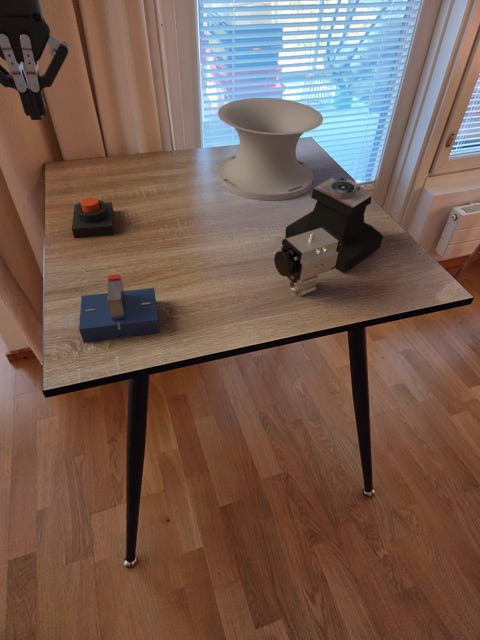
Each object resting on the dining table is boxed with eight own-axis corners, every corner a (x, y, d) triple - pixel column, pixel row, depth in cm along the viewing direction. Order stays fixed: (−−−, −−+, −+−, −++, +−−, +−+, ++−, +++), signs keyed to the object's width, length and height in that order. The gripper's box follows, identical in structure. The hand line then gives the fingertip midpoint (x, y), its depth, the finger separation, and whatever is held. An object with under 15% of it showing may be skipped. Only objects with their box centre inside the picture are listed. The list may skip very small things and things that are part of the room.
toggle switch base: (83, 347, 65) (78, 333, 63) (85, 304, 72) (81, 290, 70) (160, 337, 67) (158, 323, 65) (155, 296, 74) (153, 282, 72)
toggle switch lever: (125, 319, 66) (120, 297, 63) (112, 320, 65) (107, 299, 62) (124, 294, 70) (120, 273, 67) (112, 295, 70) (107, 274, 66)
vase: (325, 171, 114) (337, 110, 103) (289, 210, 98) (299, 143, 87) (245, 150, 122) (247, 91, 111) (199, 183, 106) (197, 119, 95)
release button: (82, 213, 87) (80, 206, 85) (82, 205, 89) (80, 197, 88) (99, 212, 87) (98, 204, 86) (100, 204, 90) (98, 196, 88)
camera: (288, 181, 80) (338, 154, 86) (285, 242, 90) (329, 214, 97) (356, 214, 71) (405, 182, 78) (343, 277, 82) (387, 244, 89)
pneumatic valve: (269, 291, 77) (276, 235, 68) (319, 273, 81) (331, 218, 73) (286, 309, 73) (295, 253, 65) (337, 289, 78) (352, 234, 69)
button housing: (74, 238, 86) (69, 221, 84) (76, 213, 93) (72, 197, 91) (113, 234, 88) (110, 217, 85) (113, 210, 95) (110, 194, 92)
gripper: (-76, -37, 45) (-17, 129, 57) (54, -31, 48) (84, 126, 60) (-59, -43, 50) (-8, 110, 62) (58, -37, 53) (85, 109, 65)
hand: (37, 118), depth 61 cm, fingers closed
